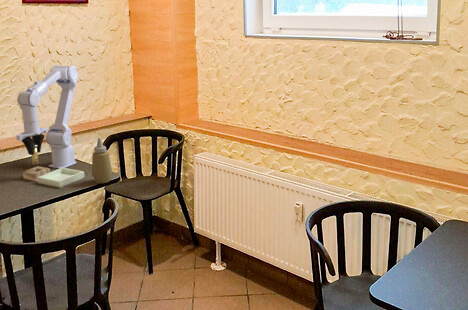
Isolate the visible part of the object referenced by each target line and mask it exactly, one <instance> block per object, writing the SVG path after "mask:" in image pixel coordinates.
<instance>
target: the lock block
mask: <svg viewBox="0 0 468 310" xmlns="http://www.w3.org/2000/svg"><path fill="white" fill-rule="evenodd" d="M50 172H51V169H50V168H49V167H43V166H39V165H38V166H37V165H36V166H35V167H32V168H29V169H26V170H24V171H22V176H23V180H30V181H34V182H38V181H37V177H39V176H42V175H44V174H47V173H50Z"/></svg>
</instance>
